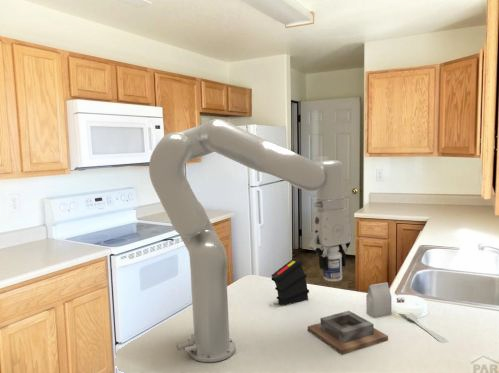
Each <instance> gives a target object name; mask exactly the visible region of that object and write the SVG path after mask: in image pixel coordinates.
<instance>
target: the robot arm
mask: <svg viewBox="0 0 499 373" xmlns="http://www.w3.org/2000/svg"><path fill="white" fill-rule="evenodd" d="M212 153H216V154H218V155H220V156H223V157H225V158H227V159H229V160H232V161H234V162H235V163H236V162H237V163H239V164H240V165H243V166H245V167H247V168H249V169H252V170H254V171H257V172H260V173H263V174H267V175H270V176H273V177H276V178H279V179H280V180H283V181H285V182H288V183H289V184H290V185H291V186H293V187H295V188H296V189H300V190H304V191H308V192H313V191H316V192H315V193H316V202H313V206H314V208H316V209H315V212H314V218H313V219H314V220H313V237H312V239H311V241H310V242H309V244H308V247H309V248H310V249H311V250H313V252H315V253H316V255H318V264H319V269H321V270H322V271H323V270H325V271H327V270H328V257H327V256H326V253H327V249H328V247H332V246H337V245H339V251H338V252H340V253H341V255H342V268H344V267H346V264H347V263H346V257H347V256H346V253H347V252H348V248H349V247H350V245H351V243H352V242H353V241H354V238H355V237H354V236H353V235H352V234H351V223H350V222H351V221H350V216H349V213H348V209H347V208H346V207H345V191H344V190H345V188H344V164H343V162H342V161H340V160H336V159H333V160H332V159H330V160H321V161H314V160H311V159H309V158H307V157H305V156H303V155H300V154H298V153H296V152H294V151H292V150H289V149H287V148H284V147H282V146H280V145H279V144H278V145H277V144H276V143H275V142H274V143H273V142H271V141H269V140H267V139H264V138H262V137H260V136H258V135H256V134H253V133H252V132H250V131H247V130H245V129H243V128H241V127H239V126H236V125H235V124H233V123H231V122H228V121H227V120H224V119H220V118H214V119H210V120H208V121H207V122H204V123H203V124H200V125H197V126H194V127H190V128H188V129H184V130H181V131H178V132H170V133H167V134H165V135H164V136H163V137H161V139H160V140H159V142H158V143H157V144H156V146H155V147H154V149H153V150H152V153H151V155H150V159H149V164H148V165H149V166H148V173H149V178H150V181H151V184H152V187H153V189H154V191H155V193H156V195H157V197H158V199H159V200H160V203H161V205H162V207H163V210H164V211H165V213H166V215H167V217H168V219H169V220H170V224H171V226H172V227H173V228H172V229H174V230H175V232H176V233H178V235H179V236H180V239H181V240H182V242H183V244H184V245H185V248H186V250H187V252H188V257H189V267H190V286H191V289H190V290H191V304H192V306H191V307H192V319H193V320H192V322H193V324H192V325H193V333H192V334H191V335H190V338H188V339H187V340H185V341H179V342H176V349H177V351H182V350H183V351H184V353H189V356H190V357H191V358H192V359H194V360H195V361H199V362H202V363H215V362H220V361H224V360H226V359H228V358H230V357H231V356H233V354H234V353H235V352H236V343H235V341H234V340H233V339H231V337H230V324H229V303H228V297H229V296H228V278H227V277H228V274H227V272H228V256H227V255H228V254H227V251H226V248H225V247H226V246H224V244H223V242H222V240H221V238H220V237H219V236H218V233H217V231H216V229H215V228H214V226H213V224H212V222H211V221H210V218H209V217H208V215H207V212H206V211H205V208H204V207H203V205H202V204H201V202H200V201H199V200H198V199H197V197H196V195H195V192H193V189H192V188H191V184H190V183H189V181H188V179H187V176H186V174H185V165H186V163H187V162H189V161H192V160H195V159H198V158H201V157H204V156H207V155H210V154H212ZM317 245H318V246H317Z"/></svg>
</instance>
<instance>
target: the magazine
mask: <svg viewBox="0 0 499 373" xmlns="http://www.w3.org/2000/svg"><path fill="white" fill-rule="evenodd" d="M302 265H303V263H302V262H301V261H300V259H297V258H295V257H293V258H292V259H291V260H289V261H288V262H286V264H284V265H283V266H281V267H280V268H279V269H278V270H277V271H275V272H274V273H273V274H271V275H270V276H271V281H273V282H274V284H275V288H274V290H276V291H277V296H276V300H277V301H278V304H279V305H281V306H286V305H290V304H294V303H298V302H299V303H300V302H303V301H306V300H308V297H309V295H308V294H310V289H308V284H307V279H306V278H307V277H308V276H307V274H306V273H305V272H304V269H303V266H302Z"/></svg>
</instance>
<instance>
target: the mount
mask: <svg viewBox="0 0 499 373" xmlns="http://www.w3.org/2000/svg"><path fill="white" fill-rule="evenodd" d="M307 331H308V332H309V333H311V334H312V335H314V336H315V337H317V338H318V339H319V340H321V341H322V342H323V343H325V344H326V345H328V346H329V347H330V348H332V349H334V350H335V351H336V352H337V353H339V354H341V355H342V356H343V355H346V354H349V353H352V352H355V351H358V350H361V349H364V348H367V347H371V346H374V345H376V344H377V345H378V344H379V343H384V342H386V341H388V340H389V336H388V335H387V334H385V333H383V332H382V331H380V330H379V329H376V328H375V327H374V323H372V322H371V321H369V320H367V319H365V318H363V317H361V316H360V315H358V314H356V313H354V312H352V311H350V310H346V311H343V312H339V313H335V314H331V315H328V316H324V317H320V322H318V323H314V324H311V325H308V326H307Z"/></svg>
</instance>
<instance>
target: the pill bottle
mask: <svg viewBox="0 0 499 373" xmlns="http://www.w3.org/2000/svg"><path fill="white" fill-rule="evenodd" d="M338 251H339V245H337V246H332V247H328V249H327V253H326V256H327V257H328V270H327V271H325V270H323V269H322V273H323V275H322V277H323V279H324V280H325V281H327V282H339V281H341V280H343V266H342V255H341V253H340V252H338Z"/></svg>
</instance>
